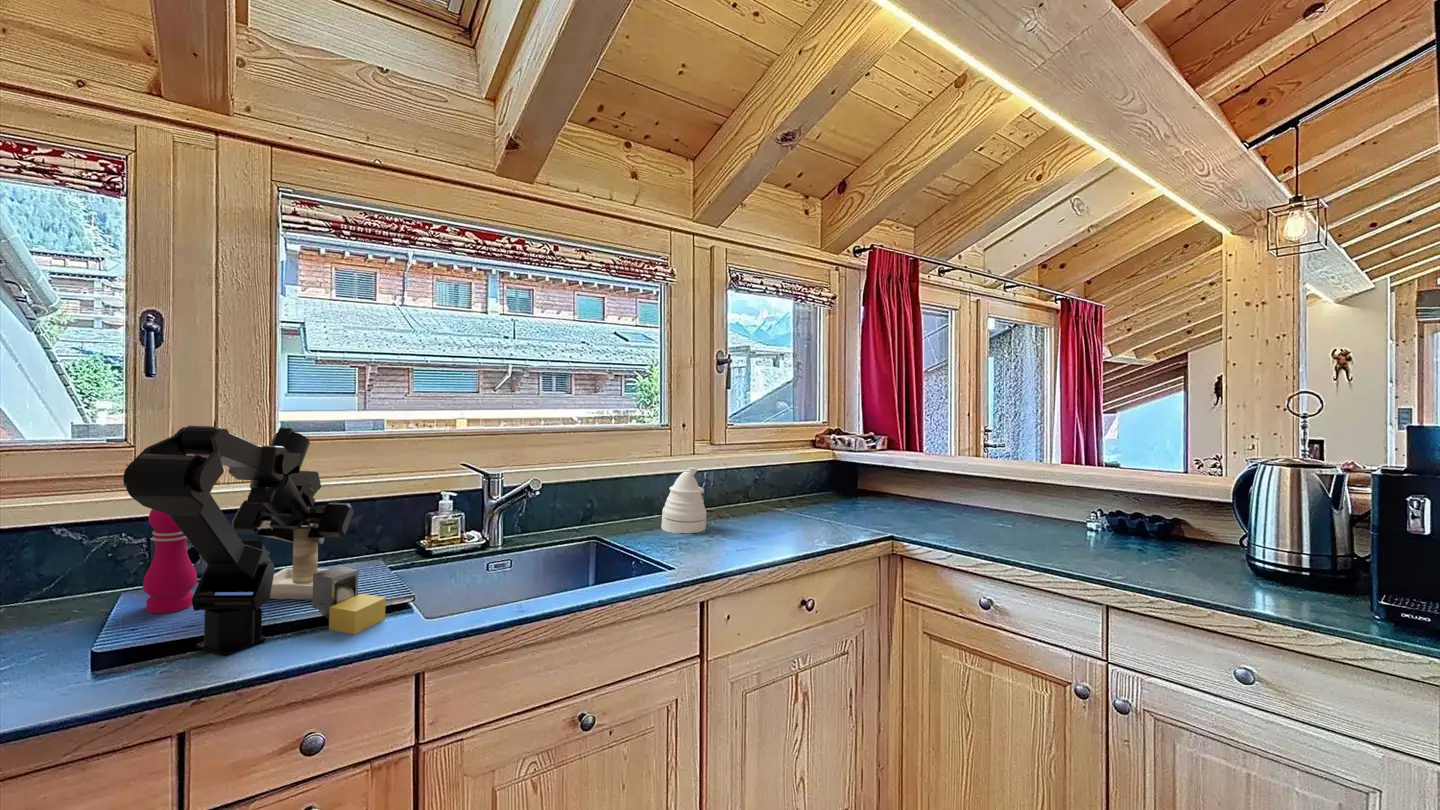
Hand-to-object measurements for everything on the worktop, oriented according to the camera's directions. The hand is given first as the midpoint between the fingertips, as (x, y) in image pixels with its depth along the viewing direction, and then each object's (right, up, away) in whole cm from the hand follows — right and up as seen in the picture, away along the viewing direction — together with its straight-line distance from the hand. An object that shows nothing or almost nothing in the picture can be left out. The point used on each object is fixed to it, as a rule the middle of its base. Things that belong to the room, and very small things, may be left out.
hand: (309, 541), depth 128 cm
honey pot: (+68, -10, +65) cm, 95 cm away
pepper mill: (-16, -9, -13) cm, 23 cm away
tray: (0, -9, -1) cm, 9 cm away
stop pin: (0, -7, -1) cm, 7 cm away
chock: (+17, -11, -15) cm, 25 cm away
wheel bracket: (+12, -11, -12) cm, 20 cm away
